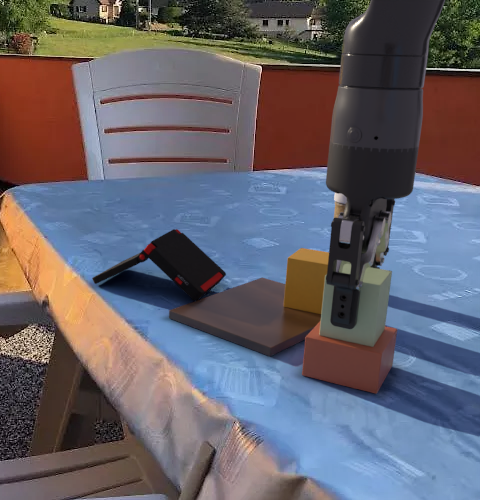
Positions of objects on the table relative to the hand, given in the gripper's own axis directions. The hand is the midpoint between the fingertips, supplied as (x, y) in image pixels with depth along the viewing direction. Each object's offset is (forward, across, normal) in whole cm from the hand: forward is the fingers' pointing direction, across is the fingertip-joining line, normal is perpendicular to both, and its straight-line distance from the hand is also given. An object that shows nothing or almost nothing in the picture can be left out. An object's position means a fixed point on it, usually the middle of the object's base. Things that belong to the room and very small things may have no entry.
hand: (353, 313), depth 67 cm
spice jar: (+6, +25, +7) cm, 26 cm away
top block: (+5, +13, +8) cm, 16 cm away
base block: (+6, 0, 0) cm, 6 cm away
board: (+6, +10, +12) cm, 16 cm away
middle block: (+2, 0, 0) cm, 2 cm away
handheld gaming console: (+1, +12, +24) cm, 27 cm away
